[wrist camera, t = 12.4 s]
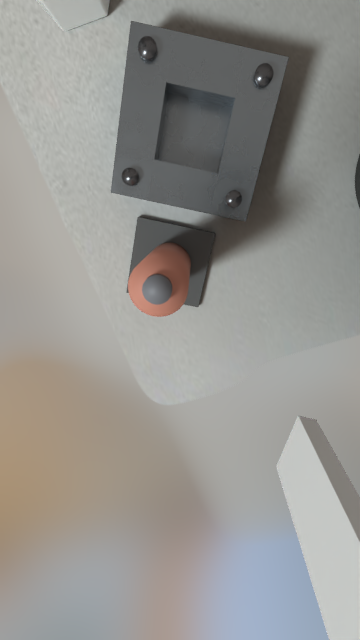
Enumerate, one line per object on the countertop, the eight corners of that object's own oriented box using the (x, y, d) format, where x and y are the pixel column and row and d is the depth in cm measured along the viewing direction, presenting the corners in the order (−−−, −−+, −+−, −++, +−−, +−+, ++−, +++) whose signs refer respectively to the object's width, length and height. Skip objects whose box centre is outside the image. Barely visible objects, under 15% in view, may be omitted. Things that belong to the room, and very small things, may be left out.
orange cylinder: (194, 247, 37) (194, 266, 25) (185, 288, 38) (180, 325, 26) (152, 238, 37) (131, 252, 25) (145, 279, 38) (121, 312, 26)
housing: (277, 75, 31) (290, 54, 27) (240, 220, 36) (246, 221, 32) (138, 43, 31) (129, 16, 27) (119, 193, 36) (109, 192, 31)
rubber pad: (214, 233, 37) (215, 233, 36) (198, 305, 40) (198, 307, 39) (138, 216, 36) (137, 217, 36) (127, 291, 40) (126, 292, 39)
